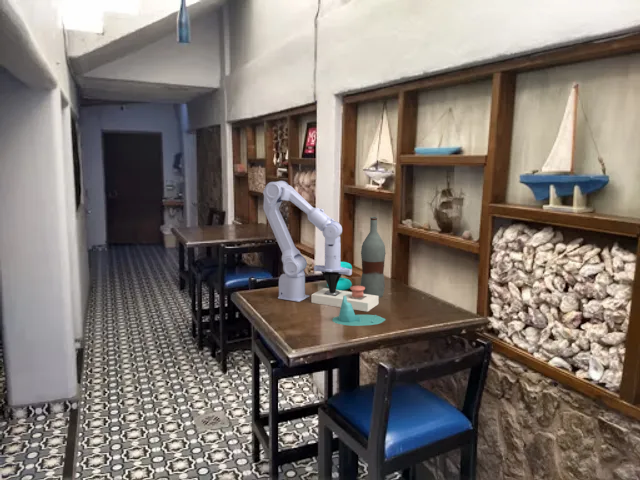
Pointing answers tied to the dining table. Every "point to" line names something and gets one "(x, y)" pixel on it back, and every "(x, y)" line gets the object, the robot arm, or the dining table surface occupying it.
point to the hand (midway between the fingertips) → (332, 292)
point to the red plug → (357, 291)
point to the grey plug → (332, 293)
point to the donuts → (344, 279)
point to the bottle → (373, 262)
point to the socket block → (357, 303)
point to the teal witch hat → (355, 316)
